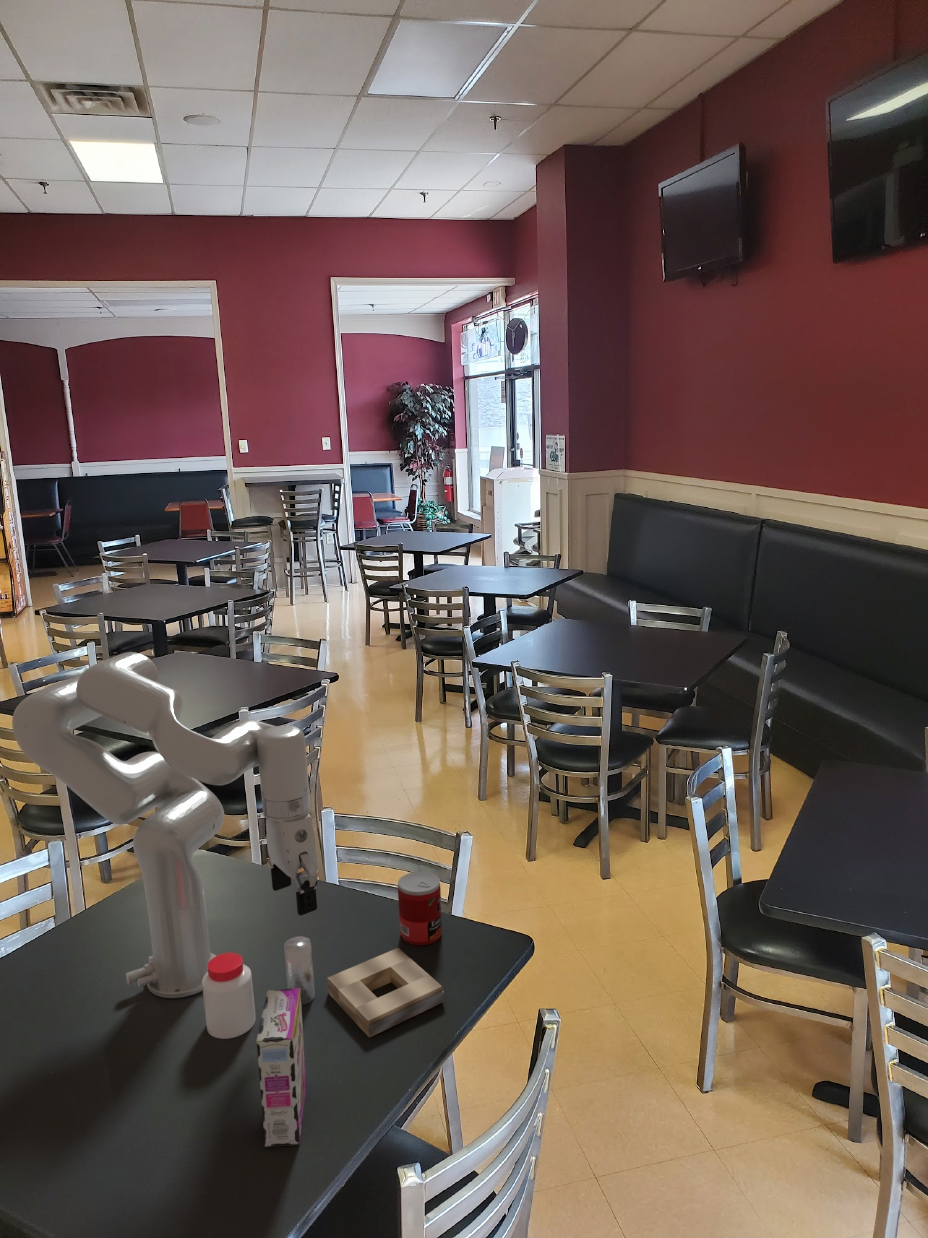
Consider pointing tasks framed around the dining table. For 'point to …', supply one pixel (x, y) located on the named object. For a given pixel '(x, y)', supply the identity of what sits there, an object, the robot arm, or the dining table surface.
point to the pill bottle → (228, 996)
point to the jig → (392, 1007)
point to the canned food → (420, 908)
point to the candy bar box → (282, 1067)
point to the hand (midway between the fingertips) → (294, 899)
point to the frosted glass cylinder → (300, 967)
